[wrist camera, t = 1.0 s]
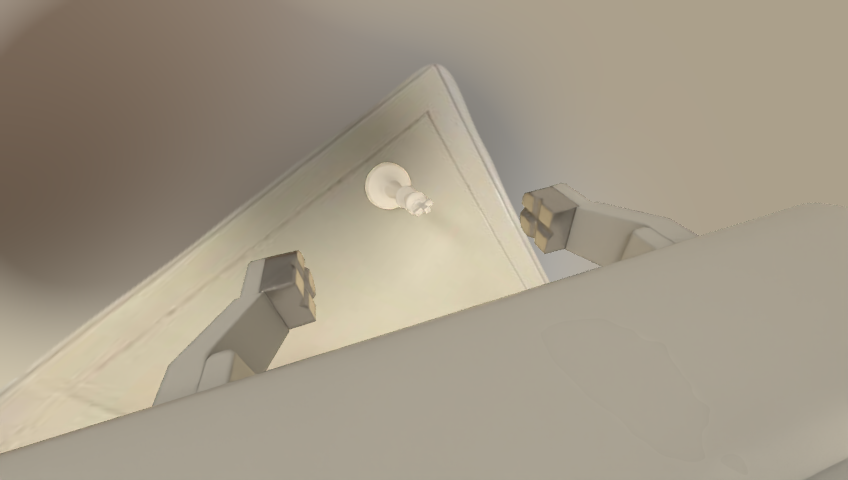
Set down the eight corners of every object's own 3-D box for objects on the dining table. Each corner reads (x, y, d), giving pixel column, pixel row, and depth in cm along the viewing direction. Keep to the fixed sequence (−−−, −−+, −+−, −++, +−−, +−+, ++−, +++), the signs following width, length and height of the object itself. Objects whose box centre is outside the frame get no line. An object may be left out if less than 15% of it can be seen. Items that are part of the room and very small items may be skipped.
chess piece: (355, 182, 30) (385, 205, 22) (392, 152, 31) (436, 164, 22) (383, 217, 33) (419, 251, 24) (417, 189, 33) (464, 213, 25)
